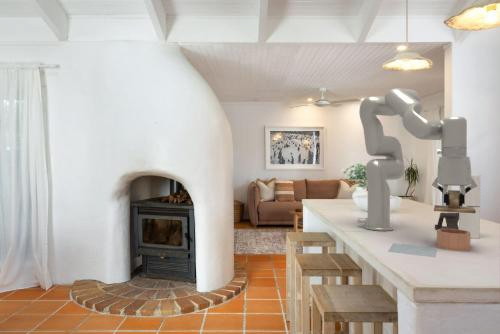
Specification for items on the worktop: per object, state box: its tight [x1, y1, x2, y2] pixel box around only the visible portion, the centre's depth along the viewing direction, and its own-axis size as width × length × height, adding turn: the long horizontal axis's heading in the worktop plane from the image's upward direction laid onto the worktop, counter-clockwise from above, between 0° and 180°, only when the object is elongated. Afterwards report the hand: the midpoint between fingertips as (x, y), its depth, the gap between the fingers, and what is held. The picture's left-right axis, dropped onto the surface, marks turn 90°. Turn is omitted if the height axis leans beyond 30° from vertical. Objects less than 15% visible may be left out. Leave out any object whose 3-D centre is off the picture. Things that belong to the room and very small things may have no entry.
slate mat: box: [387, 242, 438, 258], centre depth 119 cm, size 14×14×1 cm
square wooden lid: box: [433, 189, 476, 213], centre depth 122 cm, size 12×12×7 cm
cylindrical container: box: [458, 174, 481, 239], centre depth 142 cm, size 7×7×25 cm
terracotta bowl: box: [436, 229, 471, 252], centre depth 122 cm, size 10×10×6 cm
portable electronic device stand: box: [434, 212, 459, 231], centre depth 154 cm, size 9×8×8 cm
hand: (453, 205), depth 122 cm, fingers closed on square wooden lid, 3 cm apart
